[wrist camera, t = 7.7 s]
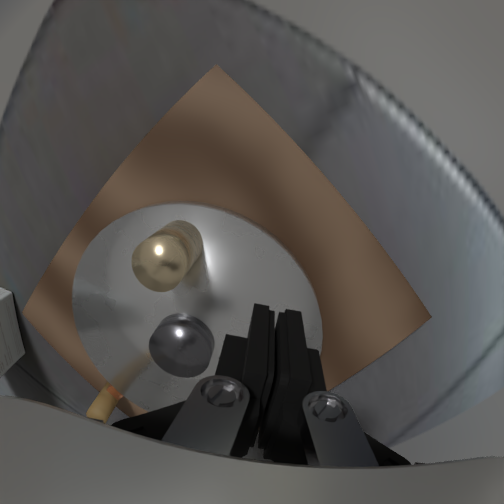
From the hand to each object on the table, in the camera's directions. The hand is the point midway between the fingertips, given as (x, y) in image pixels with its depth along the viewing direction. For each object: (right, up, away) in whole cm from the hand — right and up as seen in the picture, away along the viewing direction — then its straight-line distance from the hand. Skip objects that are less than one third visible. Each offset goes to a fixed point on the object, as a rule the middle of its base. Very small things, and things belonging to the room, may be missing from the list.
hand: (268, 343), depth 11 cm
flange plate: (-5, -2, +9) cm, 10 cm away
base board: (-4, -1, +10) cm, 11 cm away
